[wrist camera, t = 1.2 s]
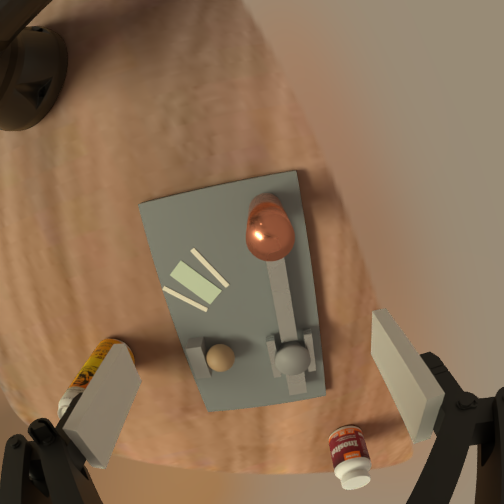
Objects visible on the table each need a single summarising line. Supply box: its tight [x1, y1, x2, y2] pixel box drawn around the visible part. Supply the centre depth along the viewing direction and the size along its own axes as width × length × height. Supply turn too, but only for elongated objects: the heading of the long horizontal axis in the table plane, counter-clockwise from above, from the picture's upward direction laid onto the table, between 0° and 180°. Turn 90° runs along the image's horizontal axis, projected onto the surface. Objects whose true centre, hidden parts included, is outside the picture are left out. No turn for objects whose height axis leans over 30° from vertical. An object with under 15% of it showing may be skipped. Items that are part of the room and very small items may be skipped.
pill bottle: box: [329, 426, 371, 490], centre depth 42 cm, size 6×6×11 cm
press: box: [138, 170, 326, 412], centre depth 37 cm, size 32×18×5 cm, turn 11°
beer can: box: [58, 339, 135, 419], centre depth 35 cm, size 6×6×15 cm
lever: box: [246, 193, 316, 395], centre depth 32 cm, size 27×6×12 cm, turn 11°
